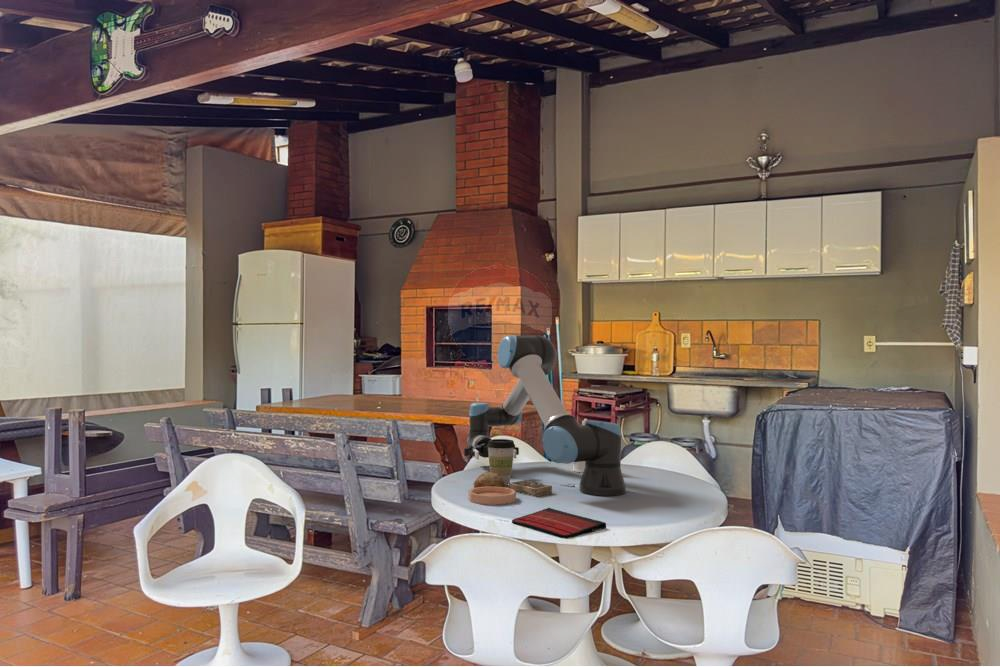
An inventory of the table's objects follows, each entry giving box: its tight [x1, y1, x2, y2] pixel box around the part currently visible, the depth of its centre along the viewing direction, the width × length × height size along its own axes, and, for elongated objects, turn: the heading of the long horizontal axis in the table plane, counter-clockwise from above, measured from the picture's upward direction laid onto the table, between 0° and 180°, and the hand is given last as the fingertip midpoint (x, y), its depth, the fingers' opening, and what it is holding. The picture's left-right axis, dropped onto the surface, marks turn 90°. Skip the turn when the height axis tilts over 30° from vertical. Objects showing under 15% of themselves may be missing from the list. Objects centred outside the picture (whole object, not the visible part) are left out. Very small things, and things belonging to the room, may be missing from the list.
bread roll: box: [472, 471, 506, 488], centre depth 227 cm, size 10×10×8 cm
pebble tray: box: [508, 479, 553, 497], centre depth 226 cm, size 12×8×3 cm, turn 44°
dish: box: [467, 486, 517, 506], centre depth 215 cm, size 14×14×2 cm
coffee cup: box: [487, 438, 516, 486], centre depth 238 cm, size 10×10×15 cm
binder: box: [511, 507, 607, 539], centre depth 185 cm, size 16×2×21 cm
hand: (496, 455), depth 243 cm, fingers open, 13 cm apart
